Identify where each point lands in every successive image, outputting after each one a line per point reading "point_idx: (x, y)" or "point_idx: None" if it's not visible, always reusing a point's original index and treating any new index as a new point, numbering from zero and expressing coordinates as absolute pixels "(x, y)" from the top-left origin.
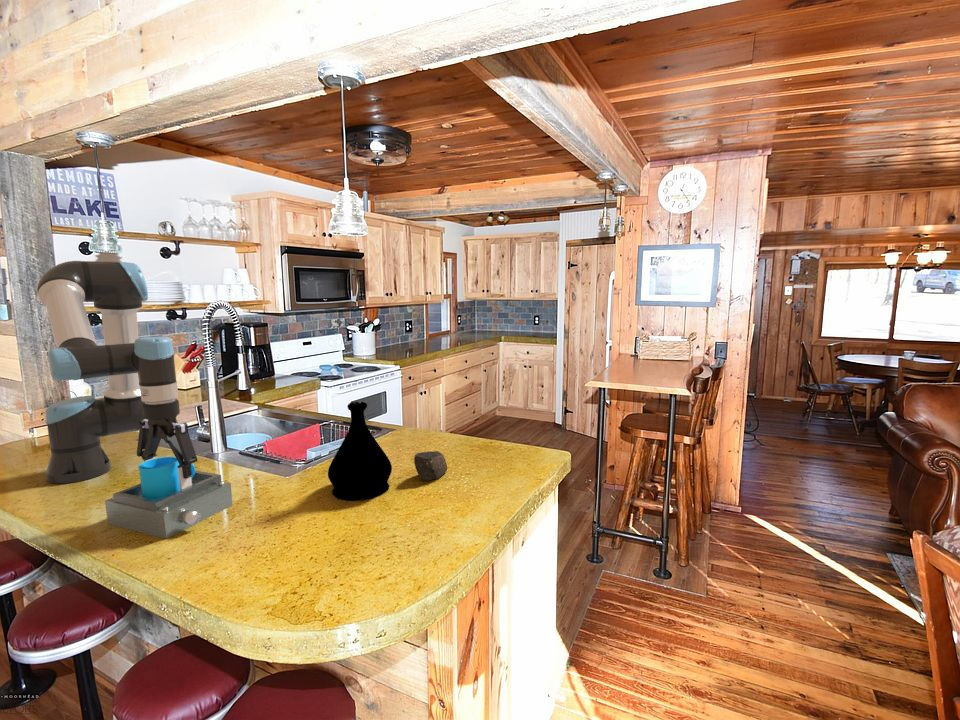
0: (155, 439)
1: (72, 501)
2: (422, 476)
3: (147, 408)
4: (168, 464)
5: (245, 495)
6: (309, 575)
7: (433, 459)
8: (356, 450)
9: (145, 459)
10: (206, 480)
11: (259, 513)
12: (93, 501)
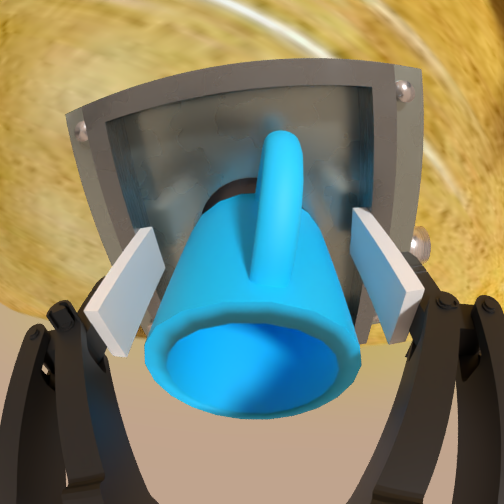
0: (136, 490)
1: (14, 263)
2: None
3: None
4: (340, 373)
5: (350, 5)
6: None
7: None
8: None
9: (105, 355)
10: (389, 146)
11: (476, 106)
12: (28, 247)
